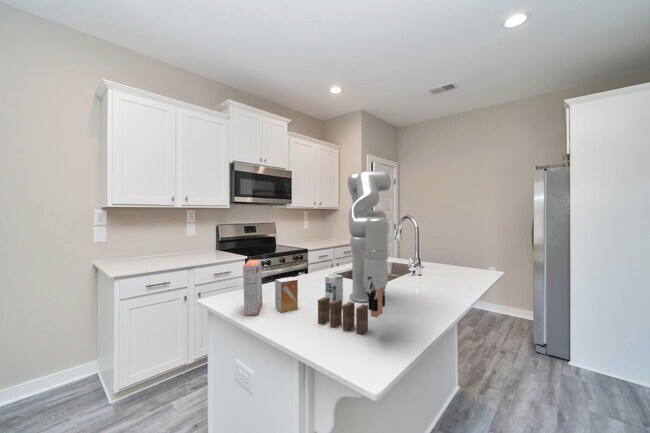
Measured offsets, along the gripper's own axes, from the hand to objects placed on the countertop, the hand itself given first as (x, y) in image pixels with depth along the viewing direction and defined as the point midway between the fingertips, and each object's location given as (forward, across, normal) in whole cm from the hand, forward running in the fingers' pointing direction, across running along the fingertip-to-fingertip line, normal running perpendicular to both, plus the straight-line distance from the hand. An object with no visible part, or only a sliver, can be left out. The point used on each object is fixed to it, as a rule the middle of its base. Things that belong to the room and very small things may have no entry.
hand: (376, 307), depth 98 cm
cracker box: (+10, +6, -55) cm, 56 cm away
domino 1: (+10, 0, -22) cm, 24 cm away
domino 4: (+10, 0, -6) cm, 11 cm away
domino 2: (+10, 0, -17) cm, 19 cm away
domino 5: (+3, 0, 0) cm, 3 cm away
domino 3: (+10, 0, -11) cm, 15 cm away
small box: (+10, -3, -44) cm, 45 cm away
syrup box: (+10, -15, -27) cm, 33 cm away
